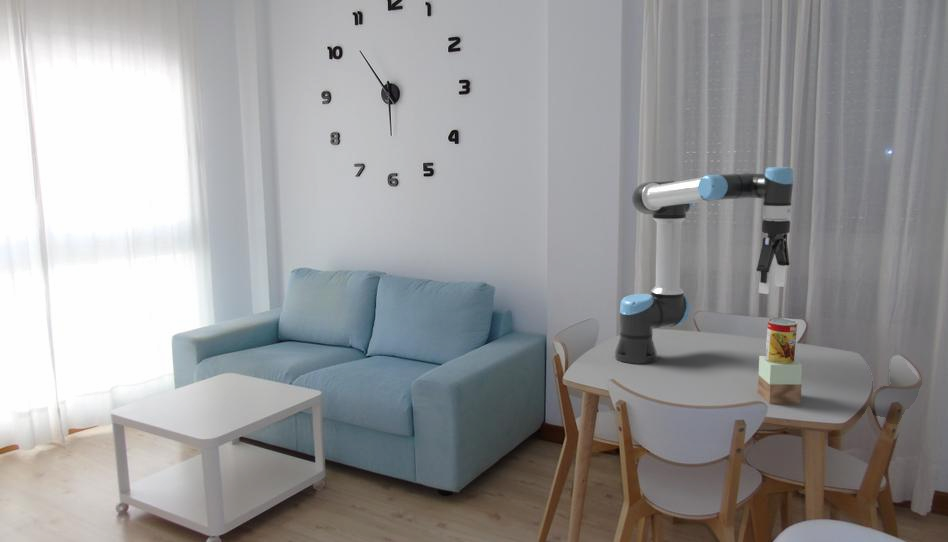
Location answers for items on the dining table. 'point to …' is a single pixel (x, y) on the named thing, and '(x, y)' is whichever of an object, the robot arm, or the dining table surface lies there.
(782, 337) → the canned food
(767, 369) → the sage block
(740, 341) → the dining table surface
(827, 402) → the dining table surface
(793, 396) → the walnut block
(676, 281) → the robot arm
